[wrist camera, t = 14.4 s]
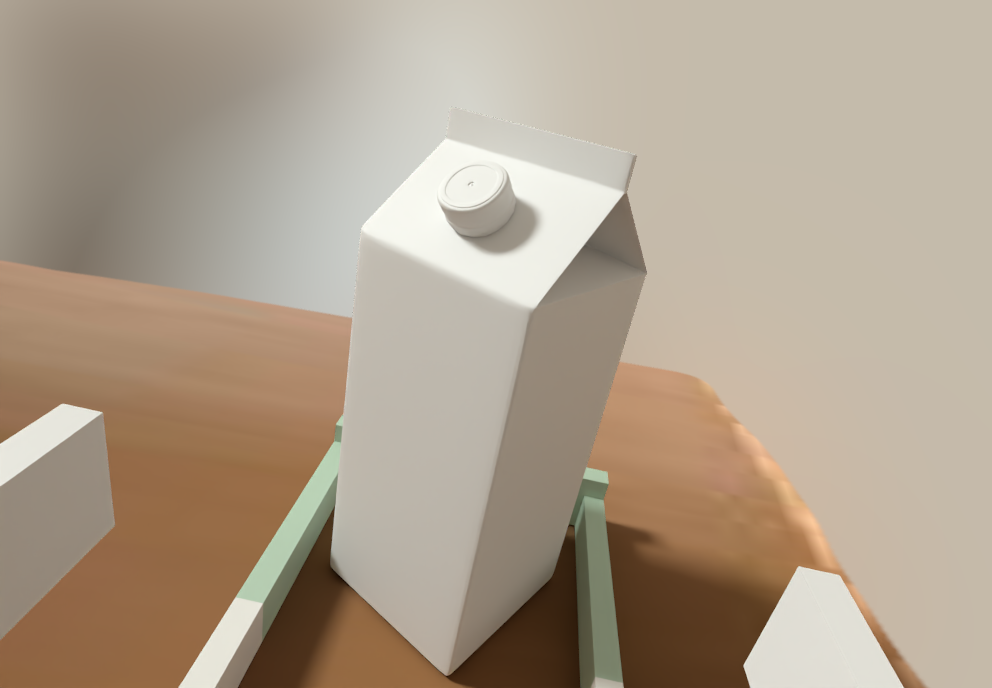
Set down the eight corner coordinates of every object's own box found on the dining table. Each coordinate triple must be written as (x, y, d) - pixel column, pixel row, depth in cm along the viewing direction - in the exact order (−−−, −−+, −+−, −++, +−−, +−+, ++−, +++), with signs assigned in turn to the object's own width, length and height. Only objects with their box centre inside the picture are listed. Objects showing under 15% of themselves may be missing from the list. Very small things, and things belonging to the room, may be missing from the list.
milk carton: (441, 498, 30) (513, 114, 23) (552, 580, 27) (683, 156, 19) (327, 568, 25) (370, 96, 17) (447, 682, 21) (569, 151, 14)
